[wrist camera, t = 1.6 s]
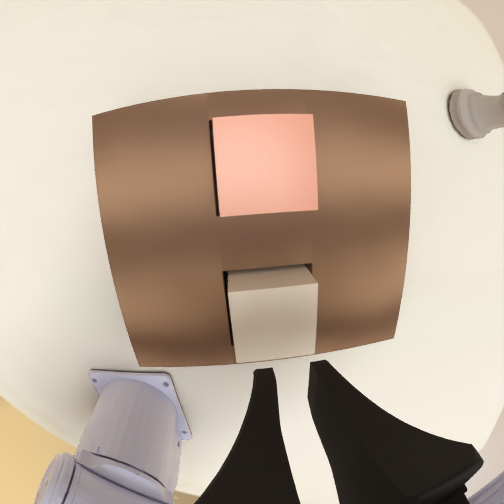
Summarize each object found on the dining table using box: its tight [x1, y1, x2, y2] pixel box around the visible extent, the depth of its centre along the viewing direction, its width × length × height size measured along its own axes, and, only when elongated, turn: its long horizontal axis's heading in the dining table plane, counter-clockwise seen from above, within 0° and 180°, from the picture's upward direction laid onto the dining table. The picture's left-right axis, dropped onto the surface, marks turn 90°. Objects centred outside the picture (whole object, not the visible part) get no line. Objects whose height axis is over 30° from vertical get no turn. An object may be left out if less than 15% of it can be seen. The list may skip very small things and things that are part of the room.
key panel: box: [92, 89, 411, 367], centre depth 16 cm, size 16×18×3 cm
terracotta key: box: [212, 114, 318, 217], centre depth 13 cm, size 4×4×4 cm
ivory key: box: [228, 264, 318, 363], centre depth 16 cm, size 4×4×4 cm
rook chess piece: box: [449, 89, 504, 139], centre depth 12 cm, size 4×4×8 cm
